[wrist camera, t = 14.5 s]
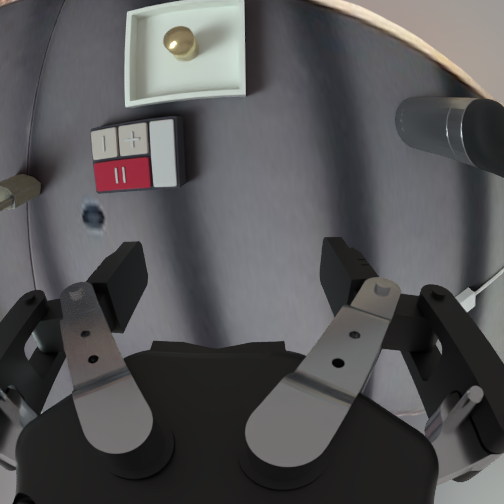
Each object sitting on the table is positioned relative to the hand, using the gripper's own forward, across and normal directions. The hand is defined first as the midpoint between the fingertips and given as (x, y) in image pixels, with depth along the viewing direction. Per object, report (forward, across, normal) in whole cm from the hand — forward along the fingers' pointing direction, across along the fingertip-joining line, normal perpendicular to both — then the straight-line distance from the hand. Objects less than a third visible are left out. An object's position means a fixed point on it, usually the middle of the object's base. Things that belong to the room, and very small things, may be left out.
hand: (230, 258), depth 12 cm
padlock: (+33, +43, 0) cm, 54 cm away
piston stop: (+32, +8, -18) cm, 38 cm away
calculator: (+34, +16, -2) cm, 38 cm away
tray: (+33, +8, -18) cm, 39 cm away
